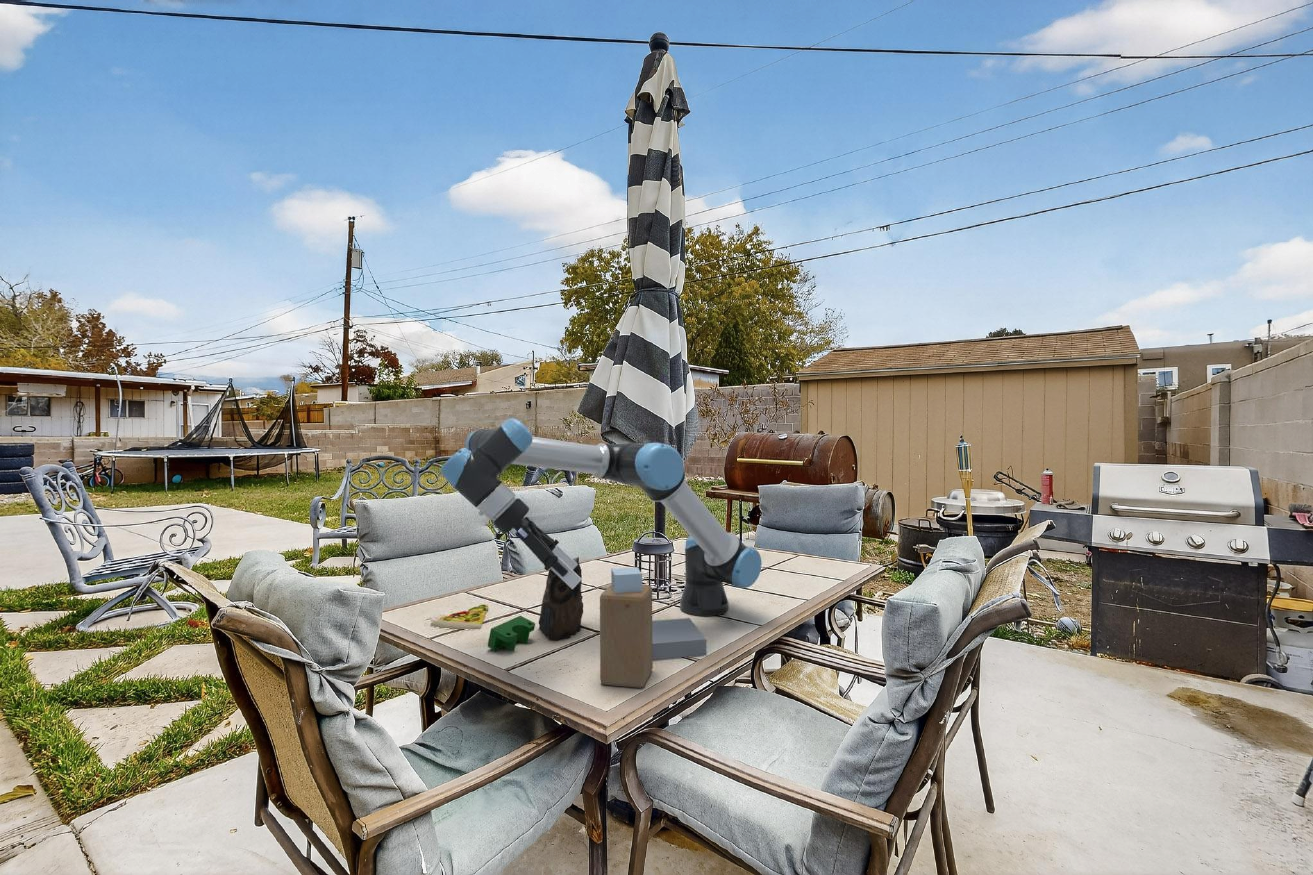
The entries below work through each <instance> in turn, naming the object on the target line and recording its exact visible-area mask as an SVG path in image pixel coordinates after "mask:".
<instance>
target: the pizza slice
mask: <svg viewBox="0 0 1313 875" xmlns="http://www.w3.org/2000/svg"><path fill="white" fill-rule="evenodd" d="M488 611H489V605H488V604H479V605H478V606H474V607H471V608H469V609H468V610H463V611H460V612H455V613H454V612H453V613H451V614H450V615H446V616H445V615H444V616H442V617H440V618H438V619H437V620H433V621H431V622H430V627H431V626H434V627H433V628H436V627H439V628H438V629H441V628H449V629H479V630H481V629H482V626H483V624H484V621H485V617H486V616H485V615H487V613H488ZM449 629H448V630H449Z"/></svg>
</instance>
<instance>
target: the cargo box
mask: <svg viewBox="0 0 1313 875" xmlns="http://www.w3.org/2000/svg"><path fill="white" fill-rule="evenodd" d="M610 574H611V575H610V578H611V579H610V580H611V581H610V582H611V584H610V585H611V586H612V588H613V591H614V593H615V594H616V593H631V592H642V585H643V573H642V572H641V570H640V569H639V568H638V567H637V566H636V567H634V566H632V567H618V568H611V572H610Z"/></svg>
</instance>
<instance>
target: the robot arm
mask: <svg viewBox="0 0 1313 875" xmlns="http://www.w3.org/2000/svg"><path fill="white" fill-rule="evenodd" d="M464 445H465V447H462V448H461V449H459V450H457V452H456V453H454V454H453V455H451V457H450V458H448V460H447V461H446V462H444V464H443V465H442V466H441V469H440V475H441V476H442V477H443V478H444V479H445V480H446V481H447V482H448V483H449V484H450V485H451V487H452V488H454V489H455V490H456V491H457V492H458V493H459V494H460V495H462V496H463V498H465V499H466V500H467V501H468V502H469V503H470V504H471V505H473V507H475V508H476V509H477V510H478V515H479V516H480V517H481V516H484V517H486V518H487V519H488V520H489V521H493V520H494V521H493V525H494V526H495V528H497V529H498V530H499V531H500V532H501V533H502V534H504V535H506V534H508V533H509V532H510V531H511V530H512V529H514V530H515V531H516V532H515V536H516V537H517V538H518V539H519V540H520V541H522V542H523V544H525V545H526V547H528V549H529V550H530V551H531V552H532V553H533V554H534V556H536V558H537V559H538V560H539V561H540V562H541V563H542V564H543V566H544V567H543V569H544V570H545V571H546V572H549V569H551V570H552V571H553V572H554V573H555V574H557V575H558V576H559V577H560V578H561V579H562V580H563V581H564V582H565V583H566V584H567V585H568V586H569V587H570V588H571V589H573V588H574V587H575V586H576V585H577V584H578V583H579V582H580V581H581V580H582V579H581V578H580V577H579V576H578V575H577V574H576V573H575V572H574V571H573V569H574V568H575V567H576V566H577V565H578V564H577V563H576V562H575V561H574V560H573V559H574V558H572V557H571V556H570V555H569V554H568V553H567V552H566V551H565V550H563V548H562V547H560V546H559V545H558V544H559V543H560V541H559V540H558V539H554V538H552V537H551V536H549V534H547V533H546V532H545V531H544V530H542V529H541V528H539V526H537V525H536V524H535V522H534V521H533V520H531V519H530V518H529V517H528V516H526V515H527V514H528V512H529V511H530V507H529V506H528V505H527V504H526V503H525V502H524V501H522V500H521V499H520V498H518V497H517V498H516V493H514V491H513V490H512V489H510V487H508V486H507V485H506V484H505V483H504V482H502V480H500V478H499V476H500V475H501V474H502V473H503V472H504V471H505V470H506V469H508V467H509V466H510V465H518V466H526V467H527V466H528V467H533V468H535V467H536V468H541V469H543V468H544V469H551V470H552V469H553V470H562V471H567V472H568V471H569V472H577V473H587V474H592V476H593V477H594V478H596V479H604V480H608V481H612V482H616V483H620V484H623V485H627V486H632V487H639V488H640V489H641V490H642V491H643V492H644V493H645V494H646V496H647V497H648V498H649V499H650V500H651V501H653V502H657V503H659V502H660V503H661V505H663V506H664V508H666V510H667V511H668V512H669V513H670V514H671V515H672V517H673V518H674V519H675V520H676V521H677V522H678V524H680V525H681V527H682V528H683V529H684V530H685V532H686V533H687V534H688V535H689V537H687V538H686V540H685V546H684V547H685V548H684V555H685V556H684V557H685V558H684V559H685V560H684V562H685V568H684V569H685V584H684V588H683V591H682V595H681V598H680V601H679V602H680V603H679V608H680V609H679V610H680V611H681V612H683V613H685V614H688V615H692V616H697V617H698V616H699V617H713V616H721V615H723V614H725V613H726V614H727V612H728V611H729V609H730V608H729V599H728V597H727V593H726V590H725V587H724V584H728V585H730V586H734V587H736V588H741V589H746V588H747V589H748V588H749V587H751V586H753V585H754V584H755V583H756V582H757V580H758V578H759V577H760V574H761V571H762V563H763V562H762V557H761V554H760V552H759V551H758V550H757V549H755V548H753V547H752V546H746V545H745V544H744V542H742V540H741V539H740V538H739V536H738V535H736V534H735V533H733V532H727V530H726V529H725V528H724V527H723V525H722V524H721V523H720V522H719V520H718V519H717V518H716V517H715V516H714V514H713V513H712V512H711V511H710V510H709V509H708V507H707V506H706V505H705V504H704V503H703V501H702V500H701V498H700V497H699V496H698V495H697V494H696V493H695V492H694V490H693V489H692V488H691V487H690V486H689V484H688V483H687V482H686V472H685V468H684V466H683V465H684V461H683V458H682V455H681V454H680V453H679V451H678V450H677V449H676V448H674V447H672V446H671V445H668V444H667V443H666V444H665V443H661V442H647V443H646V442H643V443H642V442H628V443H627V442H626V443H606V442H605V443H603V442H600V443H599V442H598V444H597V445H594V444H593V445H592V444H586V443H579V442H572V441H565V440H559V439H553V438H545V437H541V436H533V435H532V433H531V432H530V430H529V429H528V428H527V426H526V425H524V424H523V423H522V422H521V421H519V419H516V418H512V417H511V418H508V419H507V420H506V421H504V422H503V423H500V425H499V427H498V428H492V429H491V428H490V429H485V428H480V429H477V430H474V431H472V432H471V433H470V434H469V435H468V436H467V438H466V440H465V444H464ZM582 581H583V580H582Z"/></svg>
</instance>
